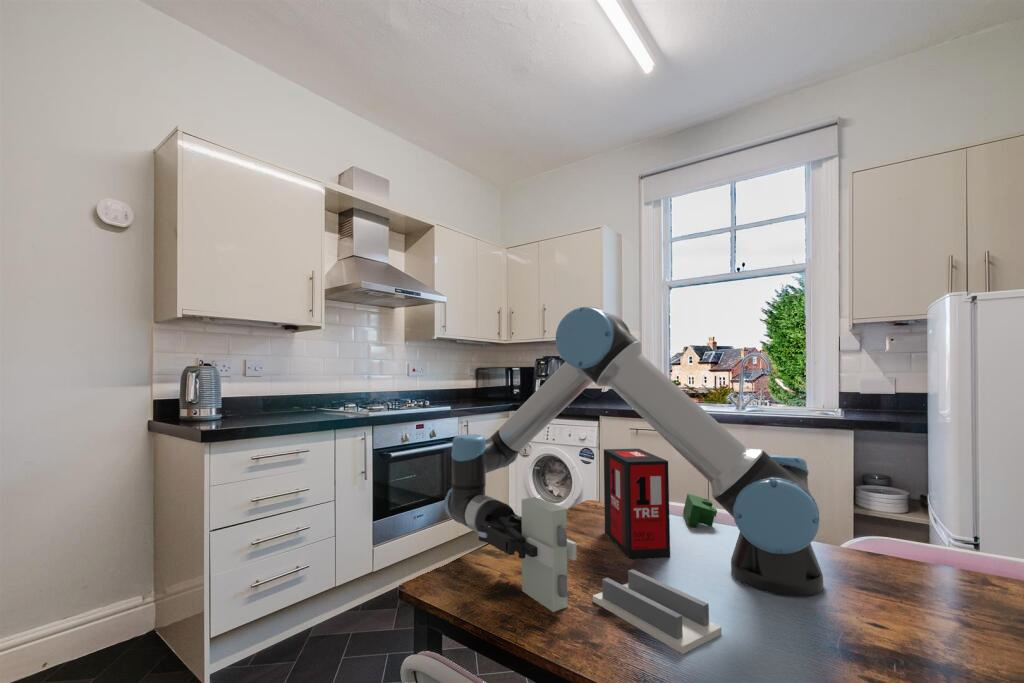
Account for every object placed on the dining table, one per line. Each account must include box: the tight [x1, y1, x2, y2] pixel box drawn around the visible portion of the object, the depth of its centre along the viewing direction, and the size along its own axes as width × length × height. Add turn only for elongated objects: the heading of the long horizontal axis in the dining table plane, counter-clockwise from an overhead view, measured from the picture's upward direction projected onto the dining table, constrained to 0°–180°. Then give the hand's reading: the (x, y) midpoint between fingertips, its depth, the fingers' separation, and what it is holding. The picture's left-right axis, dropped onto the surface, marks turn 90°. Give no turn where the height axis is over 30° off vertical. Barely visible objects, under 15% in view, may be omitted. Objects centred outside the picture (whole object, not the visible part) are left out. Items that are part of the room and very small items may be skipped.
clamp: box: [682, 493, 718, 528], centre depth 123 cm, size 12×6×9 cm, turn 161°
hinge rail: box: [592, 568, 723, 655], centre depth 75 cm, size 18×9×4 cm, turn 33°
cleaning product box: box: [603, 448, 671, 560], centre depth 108 cm, size 16×9×20 cm, turn 7°
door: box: [521, 496, 568, 613], centre depth 81 cm, size 10×3×16 cm, turn 33°
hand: (563, 554), depth 78 cm, fingers open, 4 cm apart
